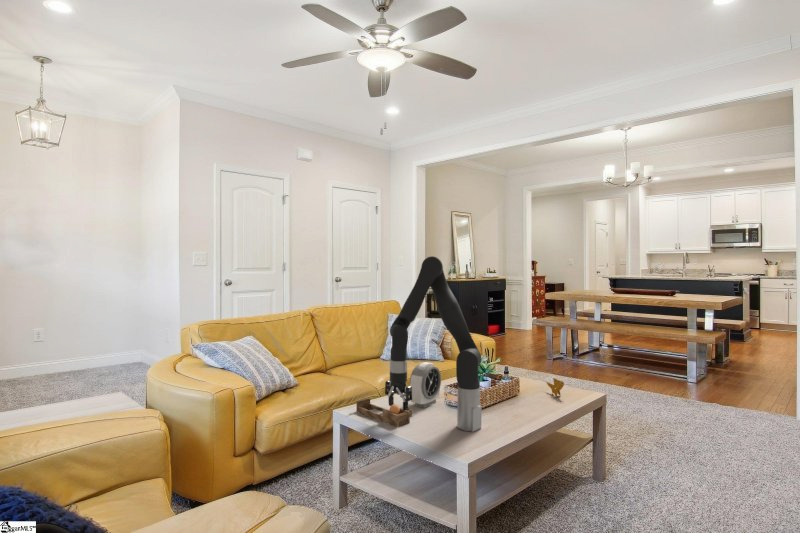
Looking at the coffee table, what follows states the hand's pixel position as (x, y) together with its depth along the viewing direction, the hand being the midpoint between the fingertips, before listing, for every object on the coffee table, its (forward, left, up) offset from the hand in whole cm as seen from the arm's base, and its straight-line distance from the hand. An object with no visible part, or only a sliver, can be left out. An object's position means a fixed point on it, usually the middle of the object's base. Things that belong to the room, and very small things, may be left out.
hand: (398, 407), depth 192 cm
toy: (-28, -89, -7) cm, 94 cm away
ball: (+2, 0, -1) cm, 3 cm away
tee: (+4, -9, -7) cm, 12 cm away
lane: (+10, 0, -7) cm, 12 cm away
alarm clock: (+9, -28, -7) cm, 30 cm away
